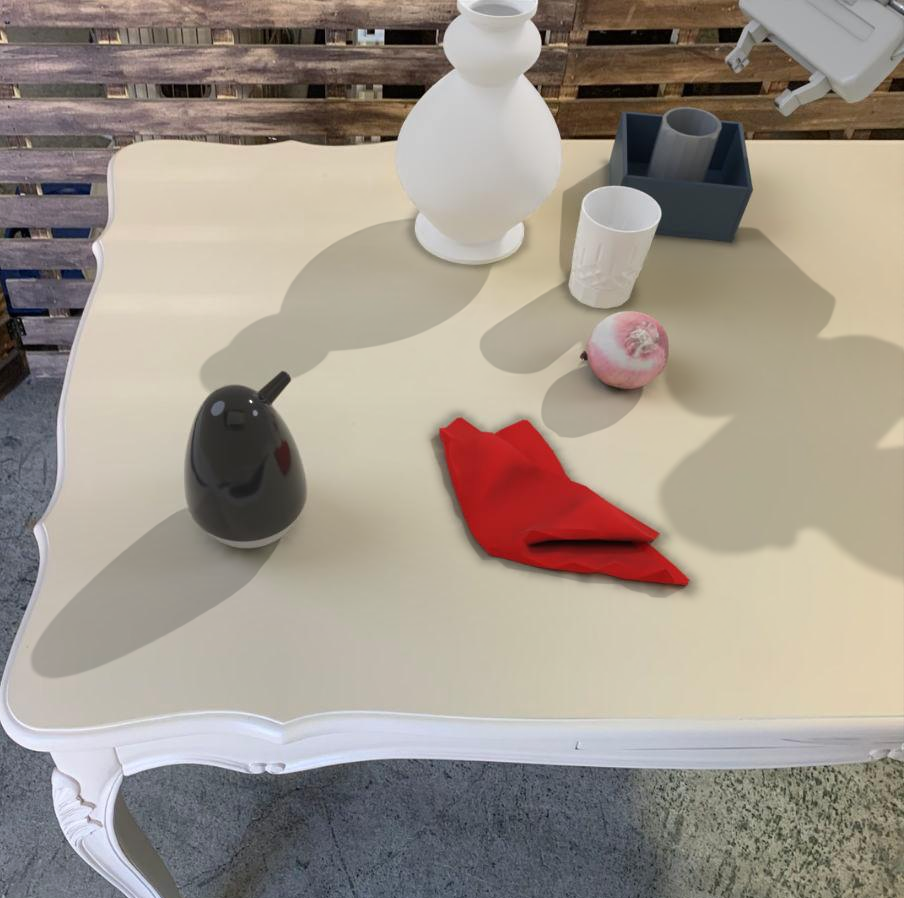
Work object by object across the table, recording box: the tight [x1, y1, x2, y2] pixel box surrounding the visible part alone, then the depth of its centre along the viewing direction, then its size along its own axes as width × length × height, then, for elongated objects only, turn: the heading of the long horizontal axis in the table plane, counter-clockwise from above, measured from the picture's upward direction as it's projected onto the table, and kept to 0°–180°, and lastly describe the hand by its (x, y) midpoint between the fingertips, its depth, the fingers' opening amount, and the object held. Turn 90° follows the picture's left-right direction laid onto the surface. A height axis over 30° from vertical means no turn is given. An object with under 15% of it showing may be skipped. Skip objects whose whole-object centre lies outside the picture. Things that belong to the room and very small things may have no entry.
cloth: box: [438, 417, 690, 586], centre depth 79 cm, size 26×14×2 cm, turn 36°
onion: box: [579, 310, 670, 391], centre depth 87 cm, size 8×8×7 cm
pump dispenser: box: [183, 370, 308, 549], centre depth 73 cm, size 10×10×15 cm
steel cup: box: [645, 106, 722, 183], centre depth 104 cm, size 6×6×9 cm
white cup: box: [567, 185, 661, 310], centre depth 94 cm, size 8×8×10 cm
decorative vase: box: [394, 0, 563, 265], centre depth 94 cm, size 18×18×25 cm
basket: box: [608, 110, 754, 244], centre depth 105 cm, size 14×14×7 cm
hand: (753, 88), depth 98 cm, fingers open, 8 cm apart
